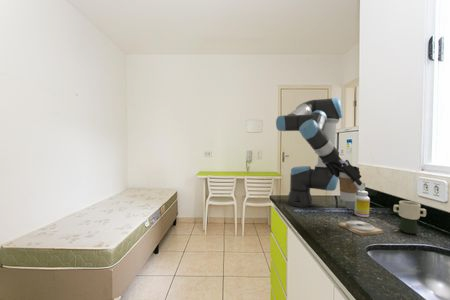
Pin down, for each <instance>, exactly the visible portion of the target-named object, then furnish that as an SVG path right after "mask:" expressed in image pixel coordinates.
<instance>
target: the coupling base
mask: <svg viewBox="0 0 450 300" xmlns="http://www.w3.org/2000/svg"><path fill="white" fill-rule="evenodd" d="M338 226H340V227H342V228H343V229H346V230H347V231H350V232H352V233H354V234H356V235H358V236H360V237H365V236H372V235H378V234H383V233H384V230H383V229H380V228H378V227H377V226H376V227H375V226H374V225H373V224H371V223H368V222H365V221H362V220H347V221H341V222H338Z"/></svg>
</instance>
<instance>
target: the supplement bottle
mask: <svg viewBox="0 0 450 300" xmlns="http://www.w3.org/2000/svg"><path fill="white" fill-rule="evenodd" d="M357 193H358V195H356V199H355V210H354V214H355V215H356V216H357V217H361V218H369V216H370V206H371V205H370V203H371V198H370V197H369V196H368V195H369V192H368V191H366V190H365V191H362V192H361V191H358V192H357Z"/></svg>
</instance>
